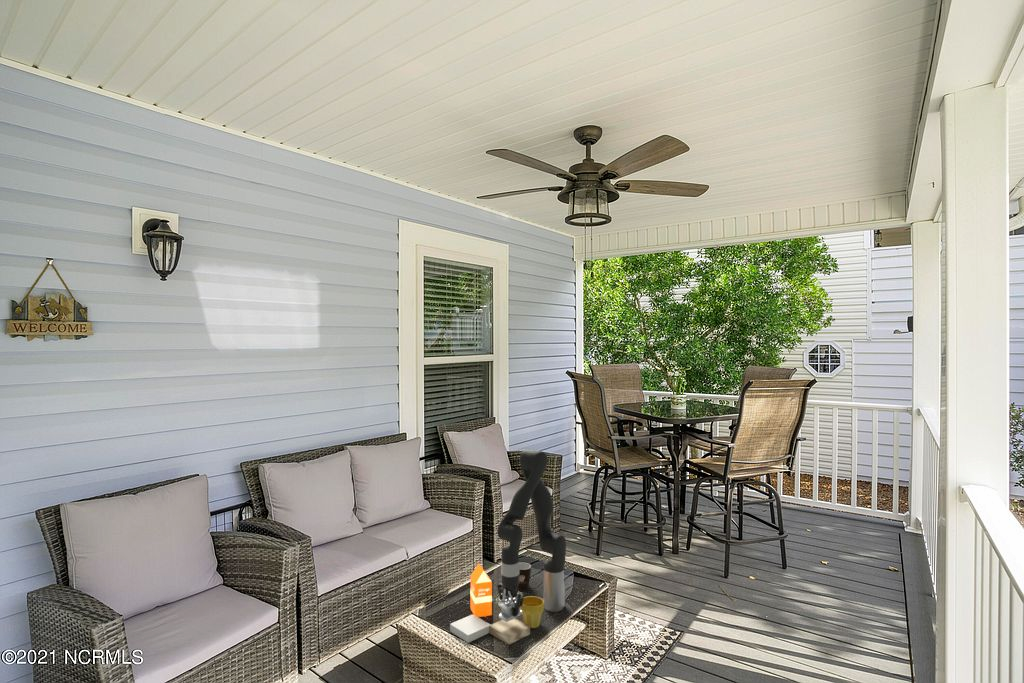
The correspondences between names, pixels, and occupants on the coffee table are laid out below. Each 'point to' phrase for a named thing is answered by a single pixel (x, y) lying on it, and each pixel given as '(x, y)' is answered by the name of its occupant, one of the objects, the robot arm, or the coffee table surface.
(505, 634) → the stand
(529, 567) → the coffee mug
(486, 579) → the orange juice
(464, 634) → the stand
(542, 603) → the plant pot
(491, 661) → the coffee table surface
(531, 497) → the robot arm
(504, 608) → the block
